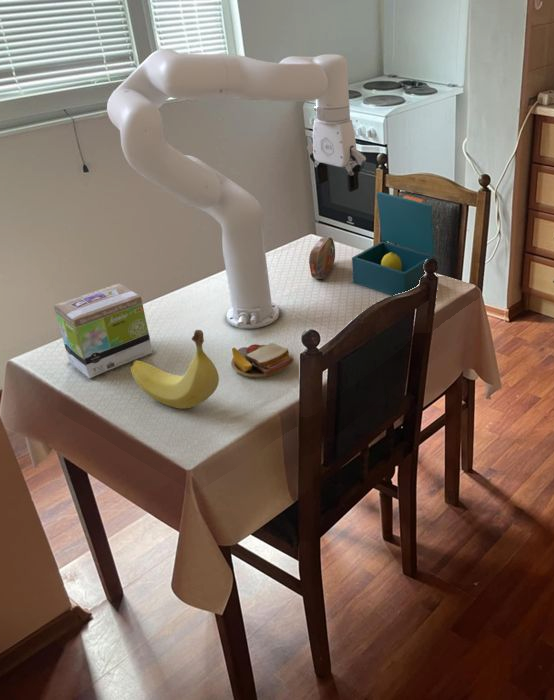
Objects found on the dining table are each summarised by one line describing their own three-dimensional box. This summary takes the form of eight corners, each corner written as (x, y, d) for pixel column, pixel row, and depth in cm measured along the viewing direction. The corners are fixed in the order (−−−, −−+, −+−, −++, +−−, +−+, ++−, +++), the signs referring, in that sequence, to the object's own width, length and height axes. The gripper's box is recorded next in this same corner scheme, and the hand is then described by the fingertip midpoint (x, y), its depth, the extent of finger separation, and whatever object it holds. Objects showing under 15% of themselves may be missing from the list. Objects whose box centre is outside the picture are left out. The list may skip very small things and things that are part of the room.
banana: (127, 395, 148) (105, 310, 138) (149, 381, 153) (128, 298, 142) (211, 428, 139) (194, 339, 129) (231, 412, 144) (216, 325, 133)
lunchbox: (405, 299, 184) (404, 274, 180) (353, 282, 192) (351, 257, 188) (433, 281, 193) (434, 256, 189) (383, 265, 201) (382, 241, 198)
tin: (320, 284, 191) (317, 255, 187) (308, 283, 192) (306, 254, 188) (336, 260, 204) (335, 233, 199) (326, 259, 204) (324, 232, 200)
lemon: (394, 286, 188) (394, 258, 184) (377, 281, 191) (376, 253, 187) (406, 278, 192) (405, 251, 188) (388, 273, 195) (388, 246, 191)
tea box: (90, 380, 153) (72, 320, 145) (69, 363, 159) (50, 304, 151) (154, 353, 162) (141, 294, 155) (132, 337, 168) (118, 280, 160)
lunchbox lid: (430, 206, 180) (442, 197, 184) (376, 192, 189) (389, 184, 192) (433, 255, 189) (444, 245, 192) (381, 240, 197) (393, 231, 201)
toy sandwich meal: (273, 343, 166) (271, 325, 163) (302, 369, 157) (300, 350, 154) (222, 361, 160) (219, 342, 157) (249, 389, 150) (246, 370, 148)
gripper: (293, 111, 166) (300, 183, 175) (352, 122, 157) (355, 197, 166) (315, 104, 171) (321, 175, 180) (373, 115, 162) (375, 188, 172)
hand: (337, 186), depth 173 cm, fingers open, 9 cm apart
